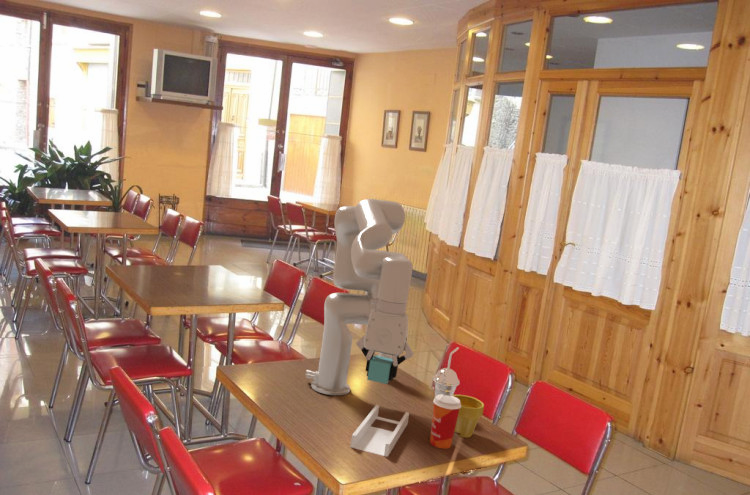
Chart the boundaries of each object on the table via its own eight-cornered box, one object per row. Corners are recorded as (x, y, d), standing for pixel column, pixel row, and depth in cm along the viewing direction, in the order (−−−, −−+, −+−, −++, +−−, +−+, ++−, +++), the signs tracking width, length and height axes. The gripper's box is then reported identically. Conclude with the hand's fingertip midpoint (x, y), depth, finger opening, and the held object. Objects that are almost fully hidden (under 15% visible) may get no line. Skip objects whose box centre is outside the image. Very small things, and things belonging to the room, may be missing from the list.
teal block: (372, 374, 167) (367, 379, 162) (375, 355, 166) (370, 360, 161) (391, 378, 165) (386, 384, 161) (394, 359, 165) (389, 364, 160)
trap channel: (349, 451, 168) (352, 434, 167) (373, 419, 191) (376, 404, 190) (387, 461, 166) (389, 444, 165) (406, 427, 189) (409, 412, 188)
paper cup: (425, 439, 182) (433, 391, 180) (452, 443, 182) (460, 396, 180) (426, 451, 174) (434, 402, 173) (455, 456, 174) (463, 406, 173)
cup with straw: (422, 406, 207) (432, 345, 205) (444, 404, 212) (454, 345, 210) (438, 417, 200) (449, 354, 198) (461, 414, 205) (471, 353, 203)
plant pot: (482, 432, 194) (488, 401, 192) (473, 444, 184) (479, 411, 183) (449, 422, 198) (454, 391, 196) (438, 433, 188) (444, 400, 187)
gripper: (354, 302, 160) (343, 373, 162) (421, 316, 156) (410, 389, 158) (362, 297, 167) (352, 365, 170) (427, 310, 163) (416, 380, 166)
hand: (380, 376), depth 164 cm, fingers closed on teal block, 5 cm apart
